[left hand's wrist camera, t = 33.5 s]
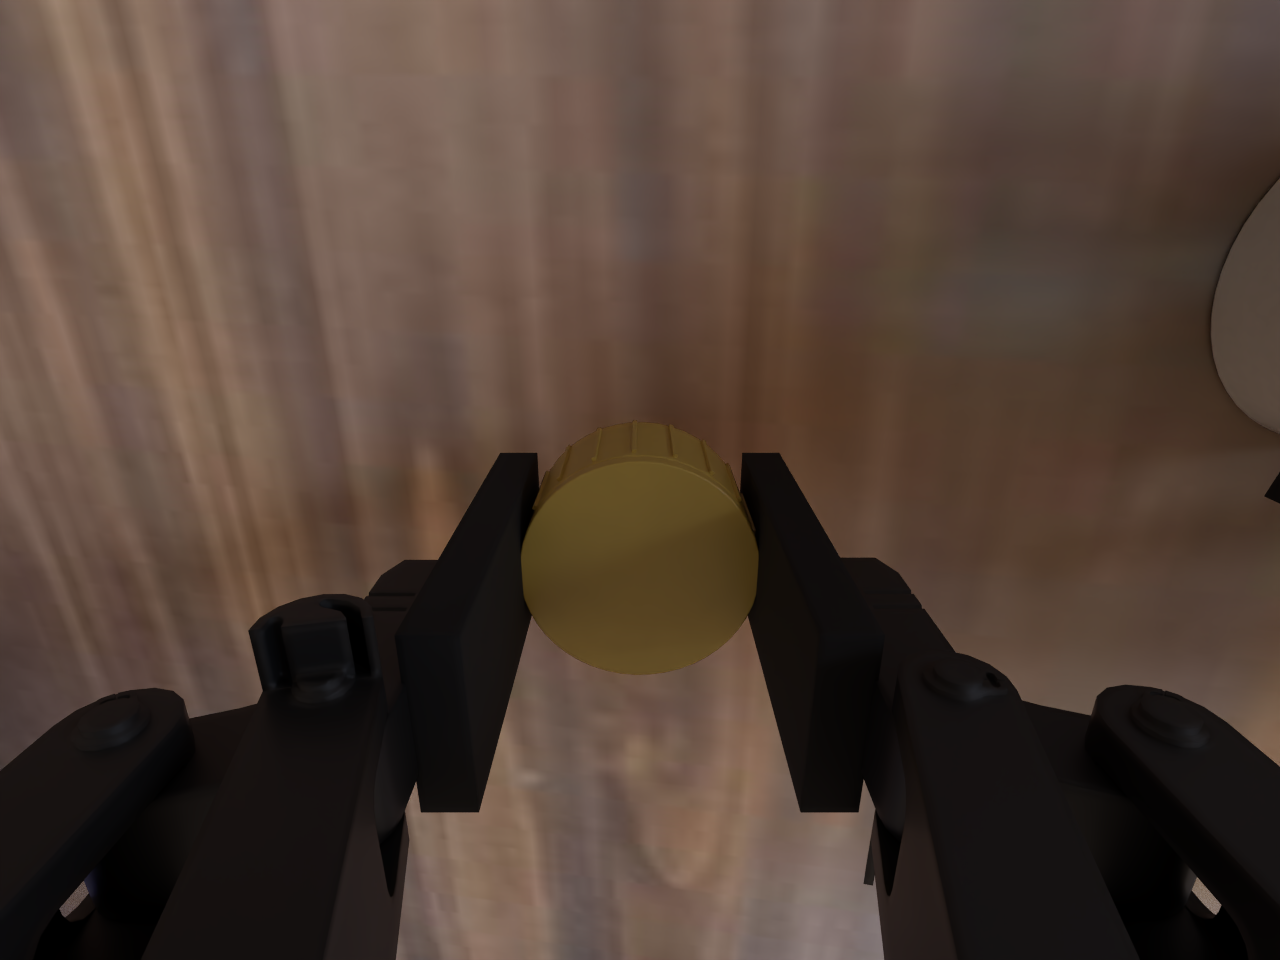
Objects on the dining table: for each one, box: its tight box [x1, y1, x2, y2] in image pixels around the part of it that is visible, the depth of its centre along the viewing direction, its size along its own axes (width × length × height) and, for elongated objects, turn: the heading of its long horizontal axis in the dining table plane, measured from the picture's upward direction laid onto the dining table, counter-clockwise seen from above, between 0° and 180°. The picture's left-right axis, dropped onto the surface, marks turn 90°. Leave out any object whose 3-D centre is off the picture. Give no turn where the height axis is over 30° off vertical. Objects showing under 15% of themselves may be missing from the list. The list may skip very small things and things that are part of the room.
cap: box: [521, 420, 759, 675], centre depth 13 cm, size 4×4×2 cm
